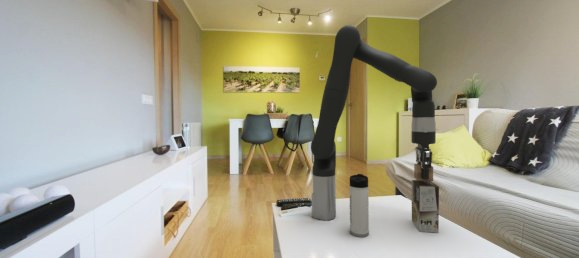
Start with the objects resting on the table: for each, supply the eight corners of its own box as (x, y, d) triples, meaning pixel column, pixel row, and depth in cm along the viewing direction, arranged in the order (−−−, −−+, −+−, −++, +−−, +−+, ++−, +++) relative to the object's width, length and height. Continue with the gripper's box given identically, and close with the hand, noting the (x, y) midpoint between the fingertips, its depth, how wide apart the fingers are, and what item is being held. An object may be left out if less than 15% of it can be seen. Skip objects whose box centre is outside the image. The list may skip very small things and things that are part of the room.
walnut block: (417, 180, 83) (417, 166, 83) (414, 176, 88) (414, 163, 88) (433, 181, 82) (433, 166, 81) (429, 177, 86) (429, 164, 86)
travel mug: (369, 230, 83) (369, 174, 83) (367, 238, 77) (367, 179, 77) (351, 227, 86) (351, 173, 85) (348, 235, 80) (347, 177, 79)
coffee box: (439, 233, 80) (439, 186, 80) (419, 231, 82) (419, 185, 81) (429, 221, 89) (429, 179, 88) (411, 220, 90) (411, 179, 90)
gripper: (408, 129, 92) (408, 172, 93) (415, 131, 78) (415, 181, 79) (429, 129, 90) (429, 173, 90) (441, 131, 76) (441, 183, 77)
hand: (423, 177), depth 85 cm, fingers closed on walnut block, 5 cm apart
